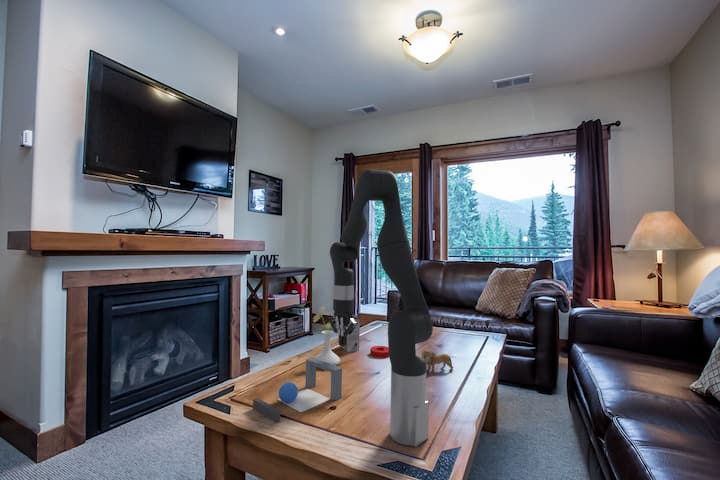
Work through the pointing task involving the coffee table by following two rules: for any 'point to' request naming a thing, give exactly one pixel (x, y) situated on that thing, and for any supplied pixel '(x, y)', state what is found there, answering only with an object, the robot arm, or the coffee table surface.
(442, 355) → the lion figurine
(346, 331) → the robot arm
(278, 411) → the wall
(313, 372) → the gray arch
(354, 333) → the coffee box
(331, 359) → the flower in vase
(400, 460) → the coffee table surface
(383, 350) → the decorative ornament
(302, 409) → the white panel
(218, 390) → the coffee table surface
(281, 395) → the ball
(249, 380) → the coffee table surface
